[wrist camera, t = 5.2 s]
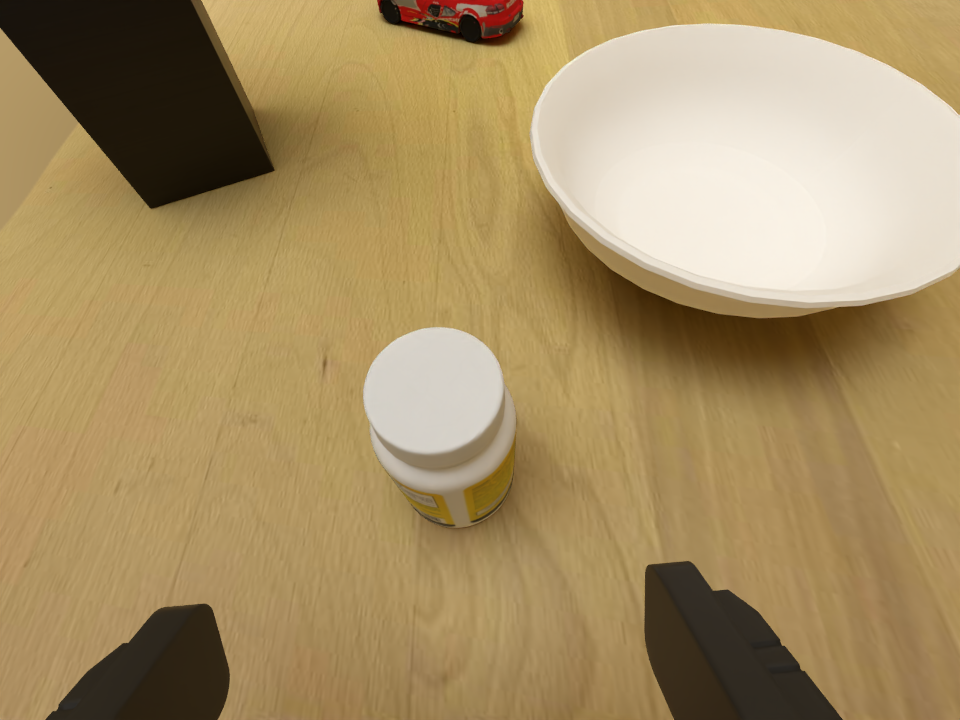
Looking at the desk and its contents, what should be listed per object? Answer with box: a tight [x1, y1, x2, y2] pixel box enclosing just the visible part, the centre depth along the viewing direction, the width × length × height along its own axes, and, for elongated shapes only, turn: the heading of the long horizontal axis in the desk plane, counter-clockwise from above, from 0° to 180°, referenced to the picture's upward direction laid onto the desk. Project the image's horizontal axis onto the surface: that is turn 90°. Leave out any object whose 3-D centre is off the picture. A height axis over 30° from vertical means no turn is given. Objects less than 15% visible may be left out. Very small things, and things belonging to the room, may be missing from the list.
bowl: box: [530, 24, 960, 318], centre depth 24 cm, size 20×20×6 cm
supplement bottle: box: [363, 327, 517, 528], centre depth 16 cm, size 5×5×8 cm
